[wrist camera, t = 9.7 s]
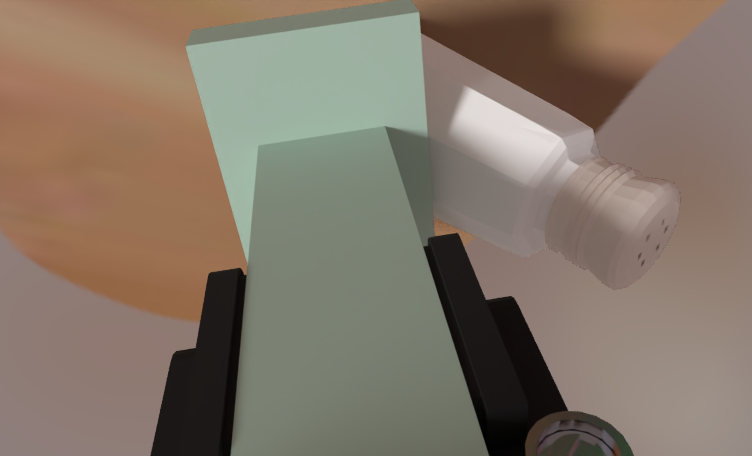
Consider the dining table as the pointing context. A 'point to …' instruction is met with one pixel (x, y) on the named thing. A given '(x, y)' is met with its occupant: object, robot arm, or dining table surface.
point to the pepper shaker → (536, 175)
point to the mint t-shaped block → (334, 235)
